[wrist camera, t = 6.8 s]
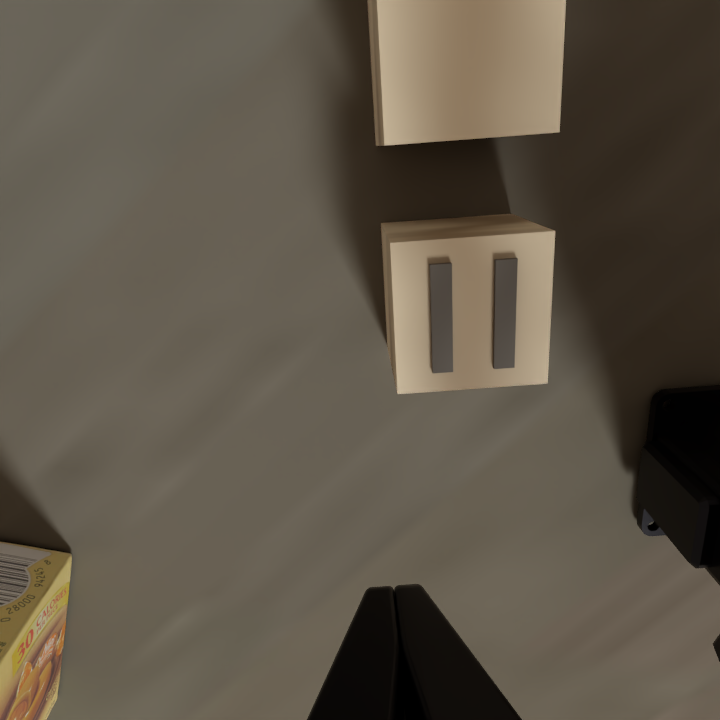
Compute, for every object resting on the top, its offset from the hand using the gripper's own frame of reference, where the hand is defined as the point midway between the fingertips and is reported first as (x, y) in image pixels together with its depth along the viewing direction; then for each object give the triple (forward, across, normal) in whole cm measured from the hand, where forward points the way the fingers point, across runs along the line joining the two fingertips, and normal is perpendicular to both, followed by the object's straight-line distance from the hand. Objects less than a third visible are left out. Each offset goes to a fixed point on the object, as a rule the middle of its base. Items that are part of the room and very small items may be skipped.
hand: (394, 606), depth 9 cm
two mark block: (+13, -3, -2) cm, 14 cm away
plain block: (+13, -3, -9) cm, 16 cm away
